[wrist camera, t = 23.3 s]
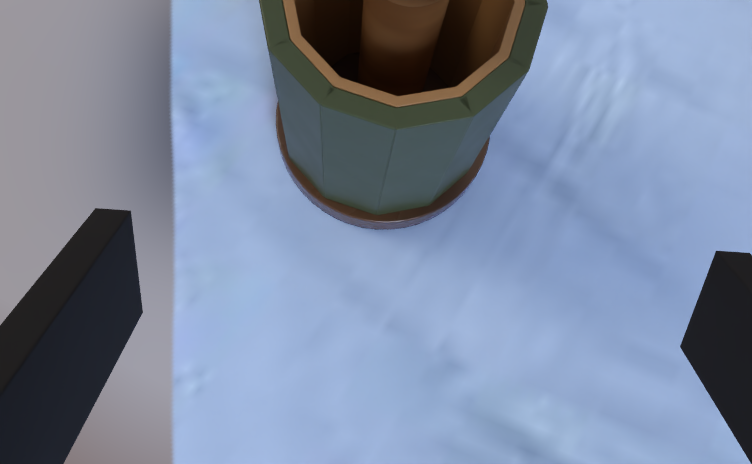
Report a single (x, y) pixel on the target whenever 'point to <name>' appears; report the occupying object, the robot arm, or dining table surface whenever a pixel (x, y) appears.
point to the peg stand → (394, 76)
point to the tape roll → (394, 99)
